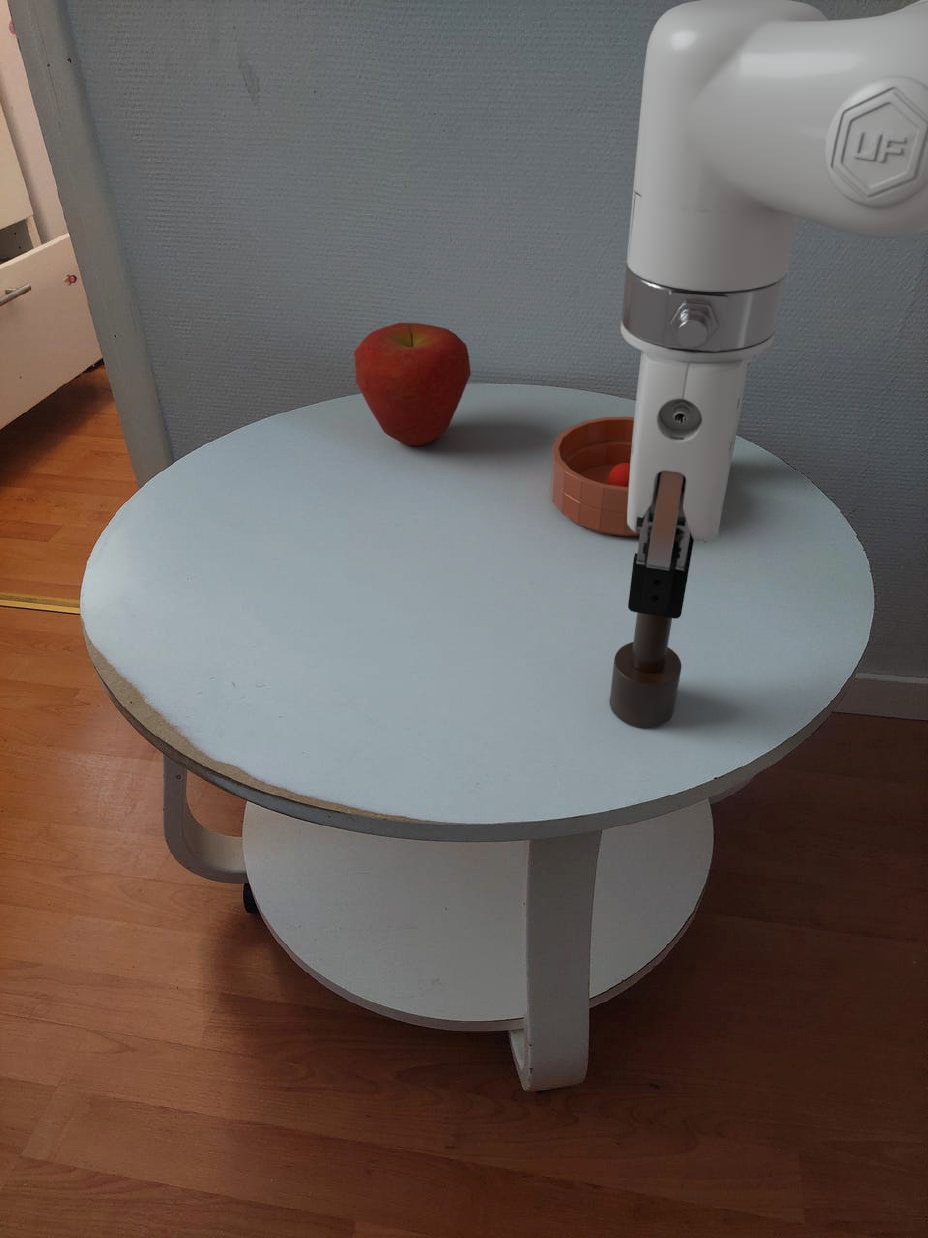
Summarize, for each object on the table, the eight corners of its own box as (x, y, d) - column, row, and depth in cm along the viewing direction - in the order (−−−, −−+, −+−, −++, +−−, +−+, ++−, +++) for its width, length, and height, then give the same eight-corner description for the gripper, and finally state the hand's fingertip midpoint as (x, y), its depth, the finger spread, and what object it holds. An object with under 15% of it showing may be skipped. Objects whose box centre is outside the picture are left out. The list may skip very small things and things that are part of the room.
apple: (364, 470, 87) (352, 351, 79) (360, 419, 95) (349, 306, 88) (477, 461, 88) (476, 343, 80) (463, 411, 96) (461, 299, 88)
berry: (641, 487, 83) (645, 459, 81) (637, 504, 80) (641, 475, 78) (609, 483, 83) (612, 454, 81) (604, 500, 81) (606, 471, 79)
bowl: (701, 472, 86) (710, 425, 82) (688, 550, 76) (697, 500, 73) (565, 455, 89) (568, 409, 85) (536, 528, 79) (538, 478, 76)
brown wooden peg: (677, 689, 63) (709, 507, 53) (670, 733, 60) (703, 549, 50) (614, 678, 64) (635, 498, 54) (604, 721, 61) (624, 537, 51)
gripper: (775, 380, 37) (708, 696, 49) (782, 257, 49) (727, 535, 61) (596, 362, 39) (573, 672, 51) (644, 248, 51) (617, 520, 63)
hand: (657, 595), depth 56 cm, fingers closed on brown wooden peg, 2 cm apart
